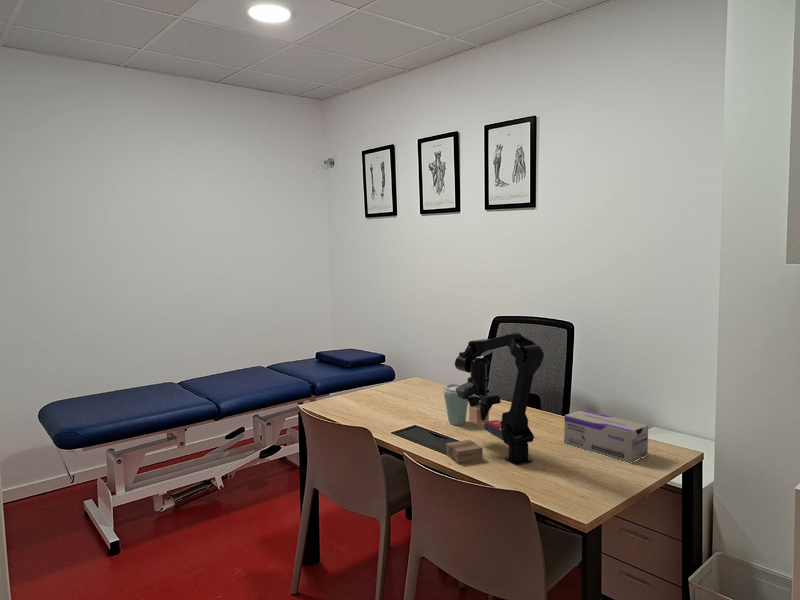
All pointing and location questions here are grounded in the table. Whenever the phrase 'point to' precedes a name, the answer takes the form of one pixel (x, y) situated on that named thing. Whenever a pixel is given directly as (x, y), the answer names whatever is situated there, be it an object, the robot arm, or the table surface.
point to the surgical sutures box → (606, 435)
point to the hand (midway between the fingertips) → (478, 418)
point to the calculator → (495, 428)
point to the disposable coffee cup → (455, 405)
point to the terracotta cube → (477, 415)
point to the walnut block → (464, 451)
